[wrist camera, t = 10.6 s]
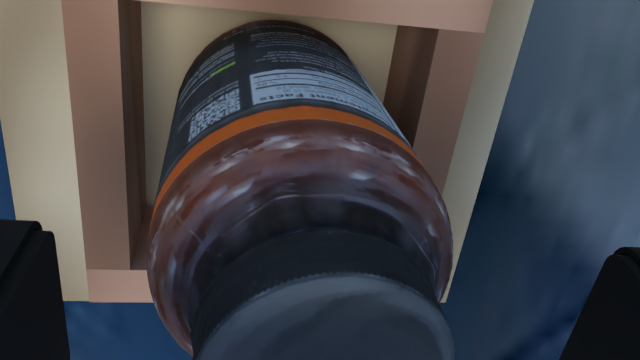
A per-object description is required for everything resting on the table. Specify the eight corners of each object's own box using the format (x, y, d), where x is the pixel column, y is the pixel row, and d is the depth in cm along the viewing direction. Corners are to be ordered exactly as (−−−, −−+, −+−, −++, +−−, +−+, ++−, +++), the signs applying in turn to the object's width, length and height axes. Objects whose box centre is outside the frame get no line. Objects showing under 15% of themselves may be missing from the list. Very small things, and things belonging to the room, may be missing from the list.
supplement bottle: (312, 211, 20) (390, 537, 10) (149, 150, 18) (56, 481, 8) (398, 64, 18) (601, 302, 8) (224, -24, 16) (216, 151, 6)
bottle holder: (553, -140, 17) (657, -142, 13) (436, 283, 24) (477, 368, 20) (-35, -232, 14) (-145, -271, 10) (38, 279, 21) (-7, 376, 17)
